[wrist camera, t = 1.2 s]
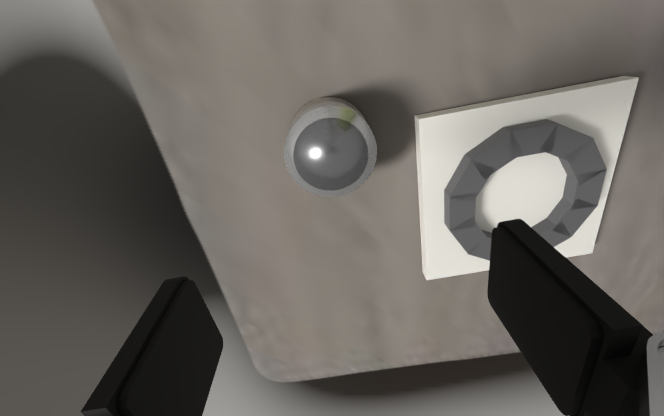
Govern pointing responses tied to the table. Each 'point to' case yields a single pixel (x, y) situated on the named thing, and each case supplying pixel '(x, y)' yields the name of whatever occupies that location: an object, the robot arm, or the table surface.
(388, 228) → the table surface
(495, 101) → the mounted pipe fitting
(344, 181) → the cap
